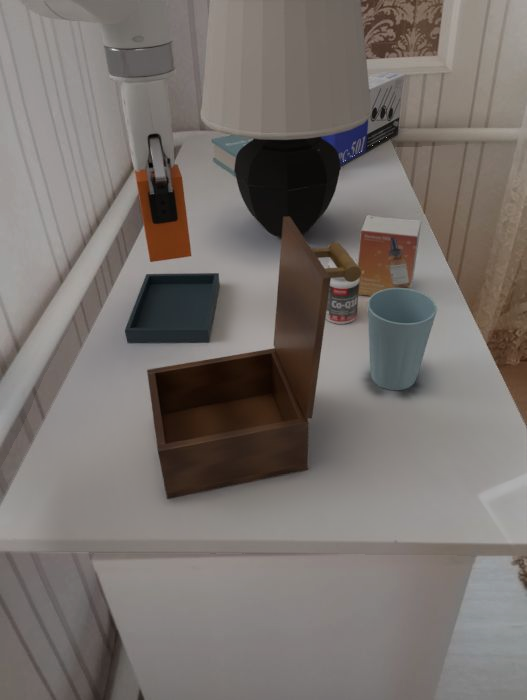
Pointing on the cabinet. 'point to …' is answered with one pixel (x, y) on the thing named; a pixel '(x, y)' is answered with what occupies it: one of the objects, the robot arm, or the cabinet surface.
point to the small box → (387, 253)
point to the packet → (165, 236)
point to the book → (228, 151)
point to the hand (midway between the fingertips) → (163, 212)
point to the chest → (226, 422)
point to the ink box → (373, 118)
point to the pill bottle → (342, 299)
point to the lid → (305, 308)
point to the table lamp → (286, 98)
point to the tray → (174, 308)
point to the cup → (398, 335)
